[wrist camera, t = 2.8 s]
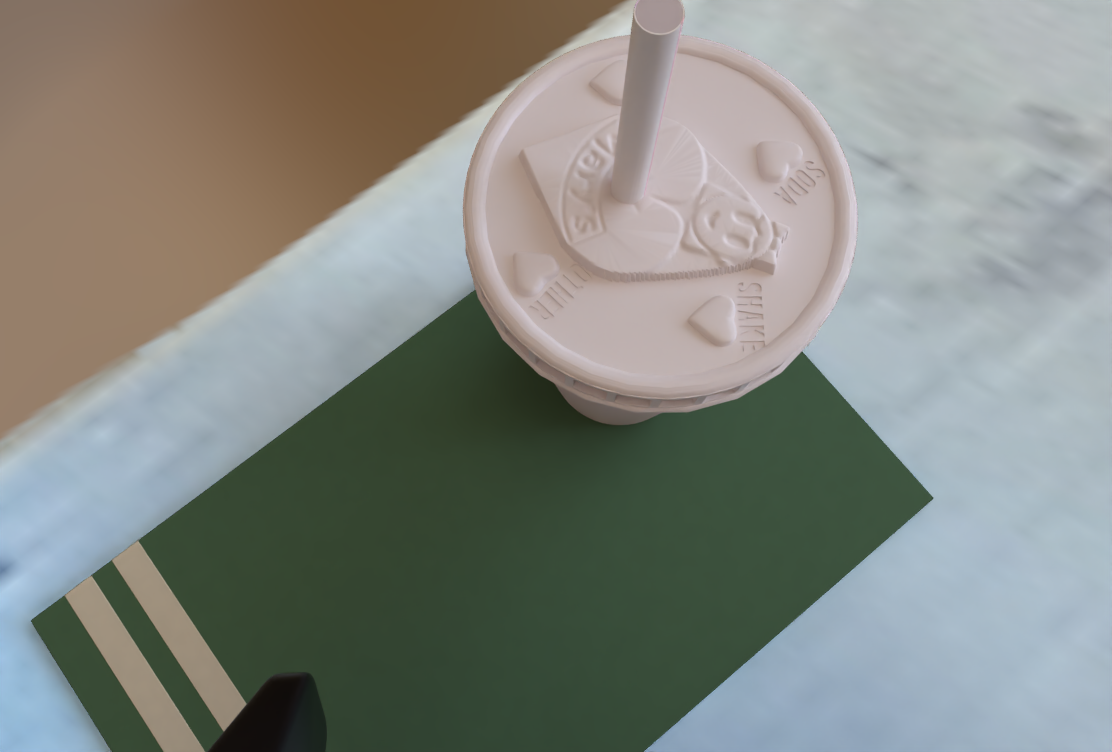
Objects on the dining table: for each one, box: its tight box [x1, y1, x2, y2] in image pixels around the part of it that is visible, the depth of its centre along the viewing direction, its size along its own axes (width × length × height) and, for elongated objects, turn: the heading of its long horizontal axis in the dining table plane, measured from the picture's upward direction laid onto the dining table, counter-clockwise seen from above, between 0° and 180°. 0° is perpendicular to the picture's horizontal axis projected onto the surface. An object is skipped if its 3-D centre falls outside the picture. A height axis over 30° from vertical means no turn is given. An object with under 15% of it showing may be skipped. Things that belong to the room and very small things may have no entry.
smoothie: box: [463, 0, 858, 425], centre depth 16 cm, size 6×6×14 cm
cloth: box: [31, 290, 933, 752], centre depth 21 cm, size 20×12×1 cm, turn 129°
